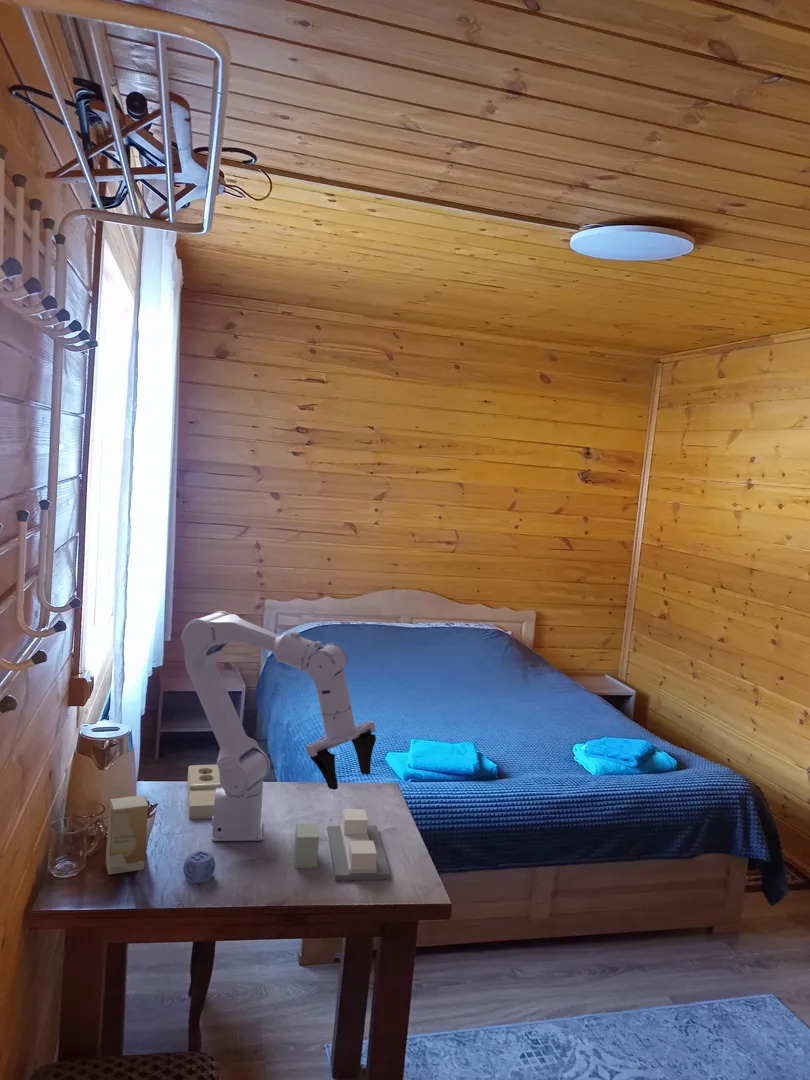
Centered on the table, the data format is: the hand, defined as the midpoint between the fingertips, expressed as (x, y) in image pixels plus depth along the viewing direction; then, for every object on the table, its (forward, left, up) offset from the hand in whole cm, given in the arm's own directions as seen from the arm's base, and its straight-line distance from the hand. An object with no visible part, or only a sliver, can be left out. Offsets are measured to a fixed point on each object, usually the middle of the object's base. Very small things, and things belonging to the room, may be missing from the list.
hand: (349, 780), depth 147 cm
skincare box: (-39, -2, -16) cm, 42 cm away
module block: (-7, -1, -15) cm, 17 cm away
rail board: (+3, +1, -15) cm, 16 cm away
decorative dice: (-26, -6, -16) cm, 31 cm away
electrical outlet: (-27, +25, -16) cm, 40 cm away
